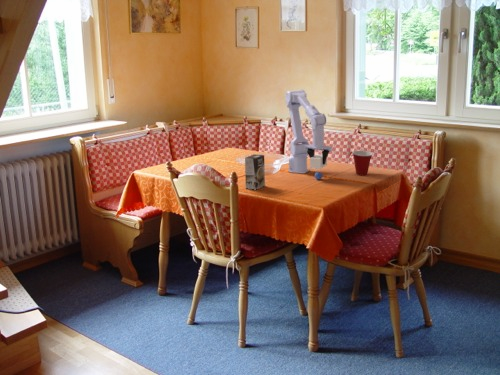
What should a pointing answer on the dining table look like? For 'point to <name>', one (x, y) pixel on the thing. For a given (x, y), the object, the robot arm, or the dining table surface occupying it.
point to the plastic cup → (362, 161)
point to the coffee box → (254, 171)
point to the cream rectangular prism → (317, 162)
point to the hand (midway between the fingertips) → (318, 163)
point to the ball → (318, 175)
